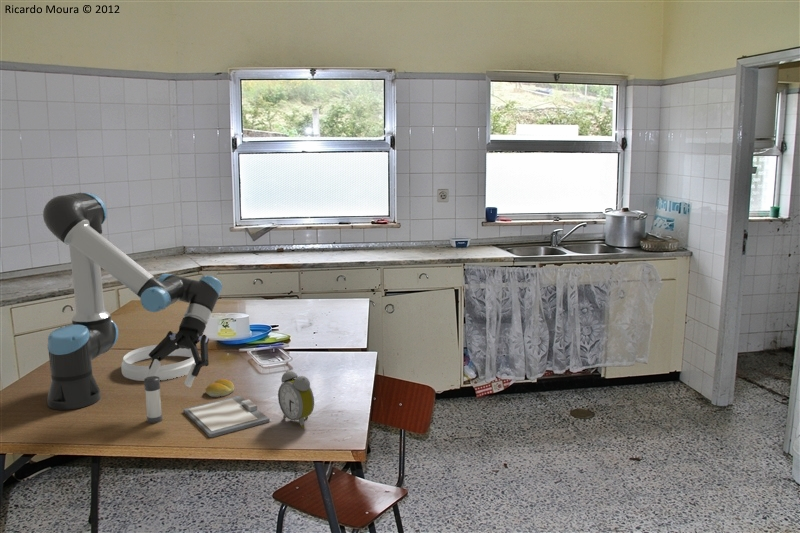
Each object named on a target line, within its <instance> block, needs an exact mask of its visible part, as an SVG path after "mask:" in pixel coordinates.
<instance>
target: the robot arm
mask: <svg viewBox="0 0 800 533" xmlns="http://www.w3.org/2000/svg"><path fill="white" fill-rule="evenodd" d="M42 216H43V222H44V223H45V226H46V227H47V229H48V230H49V231H50V232H51V234H52V235H53V236H55V237H56V238H57V239H58V240H60V241H61V242H62V243H63V244H64V245H68V247H69V255H70V256H69V258H70V265H71V274H72V275H71V276H72V283H73V293H74V304H75V314H74V315H73V316H72V317H71V322H72V323H71V324H69V325H65V326H63V327H57V328H56V329H54V330H52V331H51V332H50V334H48V336H47V337H48V338H47V351H48V357H49V359H48V360H49V368H50V376H51V377H50V378H51V382H50V386H49V390H48V393H47V398H46V400H47V401H46V402H47V406H48V407H49V408H50V409H52V410H58V411H65V410H66V411H68V410H69V411H70V410H76V409H81V408H86V407H88V406H91V405H93V404H95V403H97V402H98V401H99V400H101V389H100V387H99V385H98V383H97V381H96V379H95V377H94V375H93V374H94V373H93V364H92V363H93V362H92V360H94V359H96V358H98V357H99V356H101V355H103V354H105V353H107V352H108V351H109V350H111V349H112V348H113V347H114V346H115V344H116V343H117V342H118V340H119V339H118V338H119V327H118V325H117V324H116V323H115V322H114V321H113V319H112V318H111V313H110V312H108V311H107V310H106V308H105V298H104V290H103V288H104V286H103V279H102V270H101V269H103V270H104V271H106V272H107V273H108V274H109V275H111V277H113V278H114V279H116V280H117V281H118V282H119V283H121V284H122V285H123V286H124V287H126V288H128V290H130V291H132V292H133V293H134V294H135V295H137V296H138V297H139V298H140V304H141V305H142V308H144V310H146V311H148V312H151V313H156V312H160V311H163V310H166V309H167V308H168V307H169V306H171V305H172V304H175V303H176V302H179V301H180V302H184V303H188V307H187V308H186V310H185V313H184V314H183V317H182V319H181V322H180V323H179V326H178V331H177V332H176V333H174V332H173V331H171V330H169V331H168V332H167V334H166V336H165V337H164V338H163V339H162V340H161V341H160V342H159V343H158V344H156V345H157V346H156V347H155V348H154V349H153V350H152V351H151V352H150V353H149V356H150V357H151V358H150V359H151V360H152V361H151V362H150V365H148V366H149V369H150V370H149V372H148V375H147V377H151V376H156V374H157V371H158V369H159V367H160V365H161V364H162V362H161V361H162V360H164V359H165V358H167V357H169V356H168V355H169V354H170V353H172V352H173V351H174V350H176V349H179V348H182V349H184V348H186V349H191V352H192V355H193V358H194V361H195V362H194V363H195V364H196V365H195V364H192V366H191V368H190V370H189V373H188V375H186V378H185V380H184V383H183V384H184V385H185V386H186V387H187V388H191V387H192V385H193V383H194V380H195V378H196V377H198V376H199V374H200V371H201V369H202V368H203V367H208V366H209V365H210V364H209V363H210V362H209V348H208V345H209V341H210V338H209V337H208V336H207V335H206V334H204V332H205V330H206V328H207V326H206V325H208V323H209V321H210V320H209V319H211V315H212V314H213V311H214V308H215V306H216V304H217V302H218V299H219V298H220V294H221V292H222V289H223V284H222V282H221V280H219V279H218V278H216V277H215V276H212V275H203V276H201V277H200V279H199V280H195V279H190V278H187V277H183V276H179V275H176V274H172V273H171V274H170V273H162V274H161V275H160V276H159V277H158V278H157V277H156V276H154V275H153V274H152V273H150V272H149V271H148V270H146V269H145V268H144V267H142V266H141V265H140V264H139V263H138V262H136V261H135V260H133V259H132V258H131V257H130V256H129V255H127V254H126V253H125V252H123V251H122V250H121V249H120V248H118V247H117V246H116V245H114V244H113V243H112V242H111V241H110V240H108V239H107V238H106V237H104V236H103V226H102V225H103V224H104V223H105V221H106V219H107V216H108V212H107V207H106V205H105V203H104V201H103V200H102V199H101V198H100V197H99V196H97V195H96V194H93V193H92V192H91V193H89V192H76V193H70V194H63V195H57V196H55V197H52V198H50V200H48V201H47V203H46V204H45V206H44V207H43V211H42ZM176 344H177V345H176ZM197 344H199V345H200V353H199V350H198V347H197V346H198V345H197ZM147 377H146V378H147Z"/></svg>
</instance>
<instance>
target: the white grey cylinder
mask: <svg viewBox="0 0 800 533" xmlns="http://www.w3.org/2000/svg"><path fill="white" fill-rule="evenodd" d="M143 384H144V392H145V404H146V405H145V406H146V422H147V423H148V424H157V423H160V422H161V421H162V420H163V415H162V402H161V400H162V399H161V383H160V379H159V377H157V376H151V377H147V378H145V379H144V381H143Z"/></svg>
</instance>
